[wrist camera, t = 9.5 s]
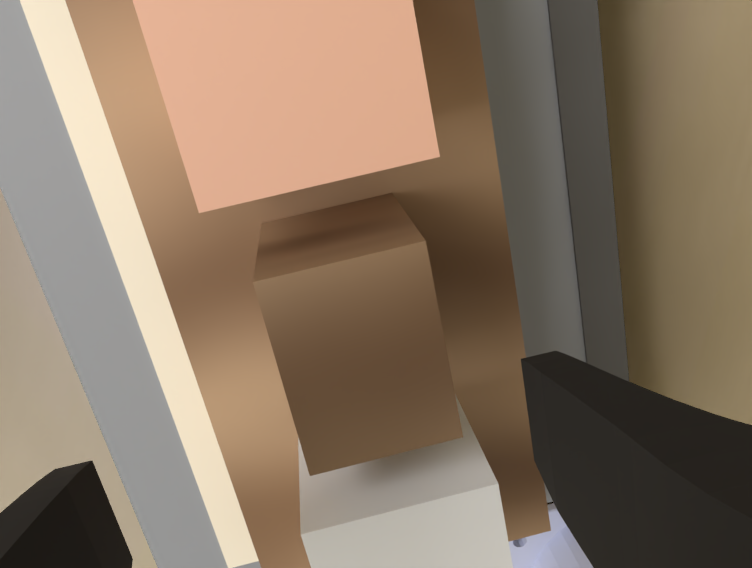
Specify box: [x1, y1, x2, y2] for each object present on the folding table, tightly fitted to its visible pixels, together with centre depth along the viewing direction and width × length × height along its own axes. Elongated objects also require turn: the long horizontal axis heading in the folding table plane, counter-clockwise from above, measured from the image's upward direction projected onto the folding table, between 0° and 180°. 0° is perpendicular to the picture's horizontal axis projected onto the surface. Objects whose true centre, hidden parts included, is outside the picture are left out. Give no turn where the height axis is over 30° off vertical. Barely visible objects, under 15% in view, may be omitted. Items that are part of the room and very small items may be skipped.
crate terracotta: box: [133, 0, 440, 213], centre depth 12 cm, size 4×4×4 cm
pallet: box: [65, 0, 551, 568], centre depth 15 cm, size 17×8×6 cm, turn 12°
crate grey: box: [298, 395, 513, 568], centre depth 16 cm, size 4×4×4 cm
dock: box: [0, 0, 629, 568], centre depth 19 cm, size 19×15×3 cm
